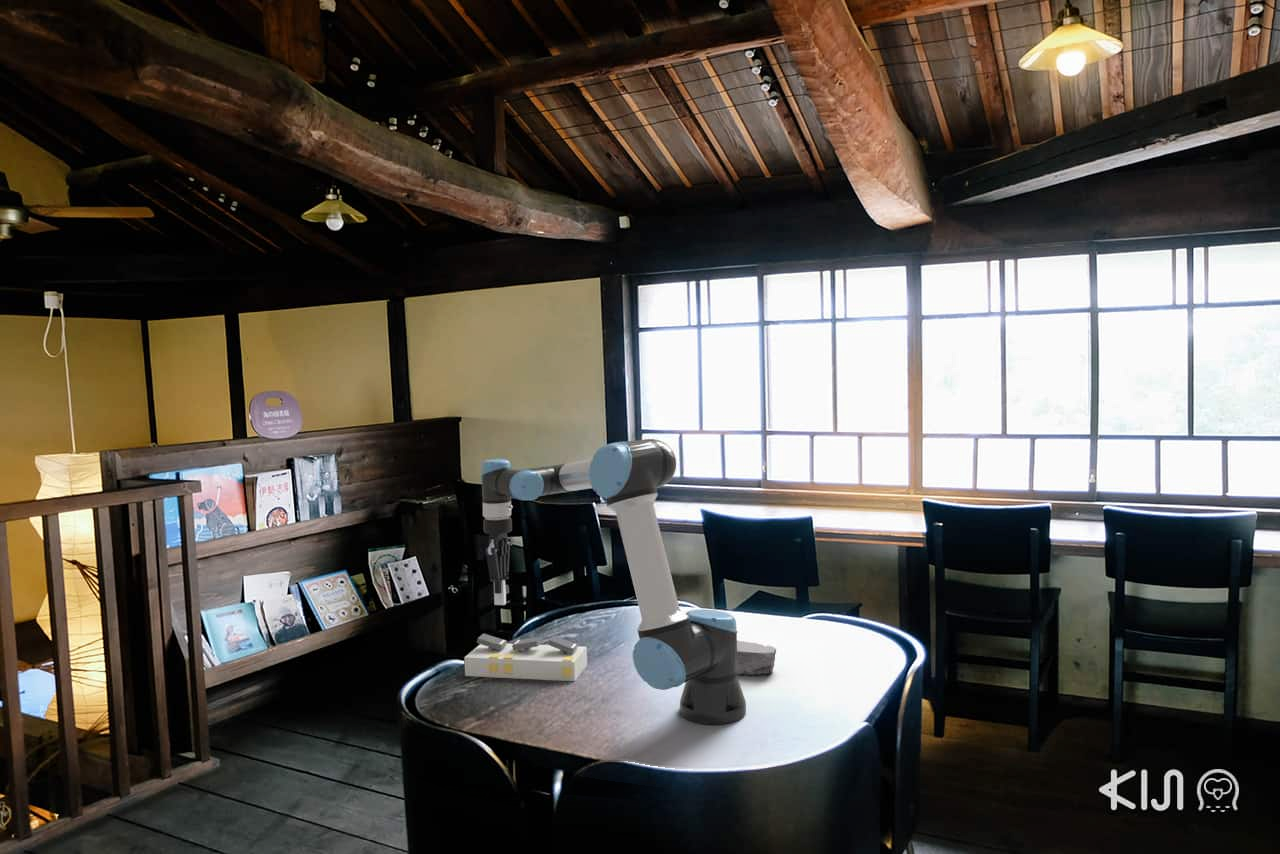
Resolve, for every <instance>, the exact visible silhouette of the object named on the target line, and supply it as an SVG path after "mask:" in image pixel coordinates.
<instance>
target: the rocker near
mask: <svg viewBox="0 0 1280 854" xmlns="http://www.w3.org/2000/svg"><path fill="white" fill-rule="evenodd" d="M548 641H549V642H548V644H547V645H550V646H552V647H555V648H557V649H560V650H562V651H565V652H567V653H570V654H573V653H574V652H575V651H576V650H577V647H578V646H579V645H578V644H577V643H575V642H572V641H570V640H567V639H565V638H562V637H560V636H558V635H554V634H553V636H551V638H550V639H549V640H548Z"/></svg>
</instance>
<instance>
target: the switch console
mask: <svg viewBox="0 0 1280 854" xmlns="http://www.w3.org/2000/svg"><path fill="white" fill-rule="evenodd" d="M513 644H514V643H507V644H506V646H505V647H504V648H503V649H502V650H501V651H500V650H497V649H494V648H491V647H488V646H484V645H481V644H478V645H477V646H476V647H475V648H473V650H471V651H470V652H469V653H468V654H467V655H465V656H464V658H463V659H464V676H465V677H479V678H480V677H481V678H499V679H500V678H502V679H519V680H520V679H522V680H542V681H558V682H559V681H562V682H563V681H565V682H566V681H567V682H576V681H577V679H578V678H579V677H580V675H581V674H582V672H584V670H585V669H586V667H587V666H588V651H587V649H588V648H587V646H579V645H578V647H577V650H576V651H575V652H574V653H573V654H570V653H567V652H565V651H562V650H560V649H557V648H555V647H552V646H550V645H548V644H540V645H539V646H537V647H531V648H524V649H518V650H513V647H512V645H513Z"/></svg>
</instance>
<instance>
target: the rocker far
mask: <svg viewBox="0 0 1280 854" xmlns="http://www.w3.org/2000/svg"><path fill="white" fill-rule="evenodd" d="M476 644H478V645H480V644H481V645H484V646H488V647H491V648H494V649H497V650H500V651H501V650H502V649H503V648H504V647H505V646H506V644H508V640H507V639H506V640H505V639H502V638H499V637H496V636H493V635H490V634H487V633H482V634H481V635H480V636H478V637H477V640H476Z"/></svg>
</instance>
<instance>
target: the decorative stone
mask: <svg viewBox="0 0 1280 854" xmlns="http://www.w3.org/2000/svg"><path fill="white" fill-rule="evenodd" d="M776 653H777V648H776V647H775V646H771V645H763V644H761V643H758V642H751V641H750V642H749V641H744V640H741V641H740V640H738V639H737V675H738V676H744V677H759V676H762V675H764V676H769V674H770V675H771V674H773V671H774V668H775V660H776ZM762 677H763V676H762Z"/></svg>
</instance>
